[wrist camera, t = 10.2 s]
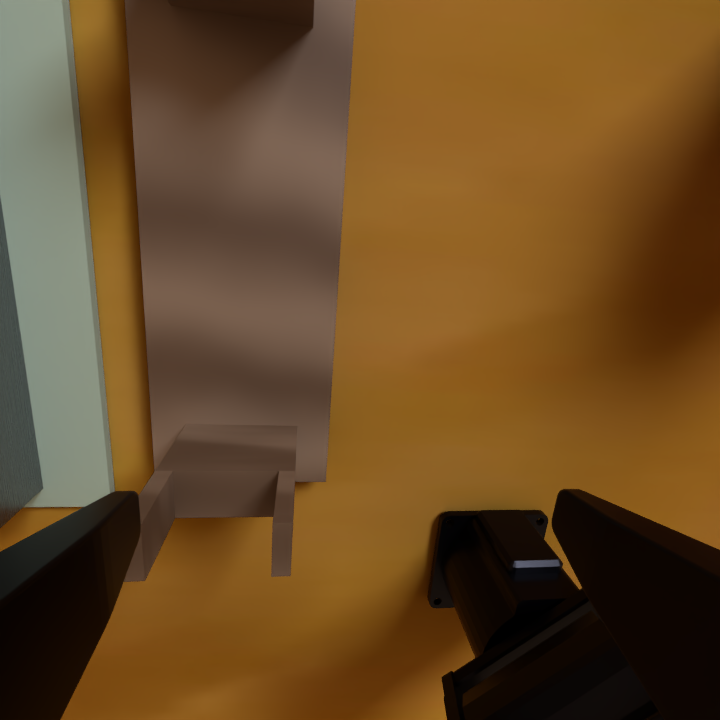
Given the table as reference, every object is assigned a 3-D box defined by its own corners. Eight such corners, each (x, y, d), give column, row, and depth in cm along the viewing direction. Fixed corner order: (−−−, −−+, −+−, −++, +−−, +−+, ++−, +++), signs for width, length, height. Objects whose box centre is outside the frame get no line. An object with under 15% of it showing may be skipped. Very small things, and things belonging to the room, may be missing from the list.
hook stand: (324, 465, 22) (335, 598, 14) (165, 465, 21) (73, 610, 12) (355, -38, 16) (406, -333, 8) (135, -78, 15) (-74, -472, 7)
